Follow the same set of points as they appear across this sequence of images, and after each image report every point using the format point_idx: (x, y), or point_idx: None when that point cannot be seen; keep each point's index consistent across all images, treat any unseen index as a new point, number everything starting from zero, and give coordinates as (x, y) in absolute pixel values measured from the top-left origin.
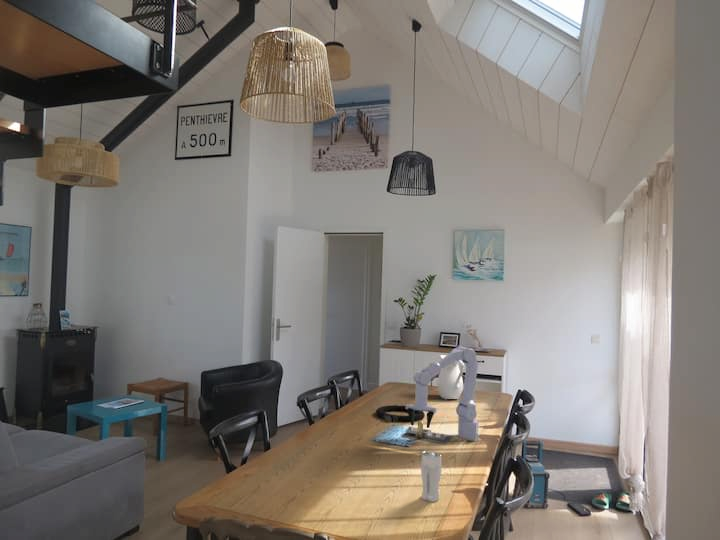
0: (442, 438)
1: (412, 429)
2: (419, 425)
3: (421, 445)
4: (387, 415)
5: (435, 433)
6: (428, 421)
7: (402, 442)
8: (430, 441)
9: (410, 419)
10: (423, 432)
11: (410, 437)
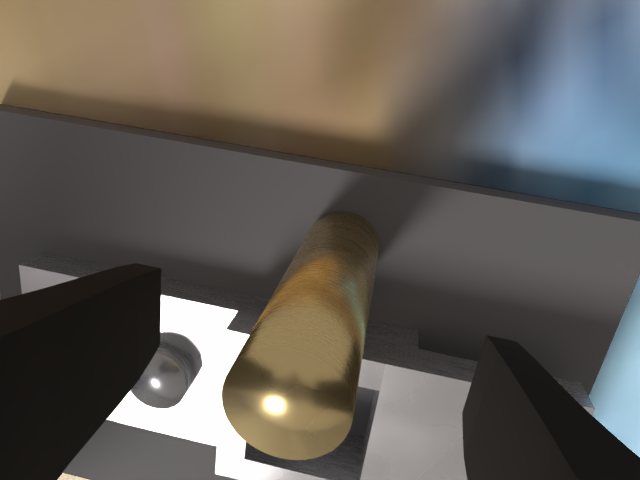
0: (45, 268)
1: None
2: (315, 306)
3: (290, 23)
4: None
5: (142, 376)
6: (14, 303)
7: (603, 60)
8: (183, 165)
9: (591, 420)
10: None
11: (486, 257)
